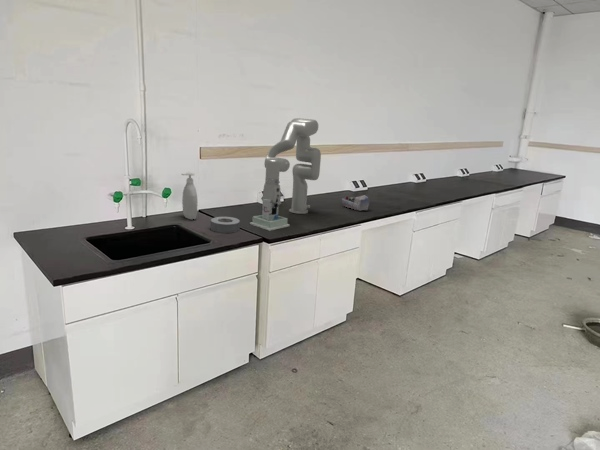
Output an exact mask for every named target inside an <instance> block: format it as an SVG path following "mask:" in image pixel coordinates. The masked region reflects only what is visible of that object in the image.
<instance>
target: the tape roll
mask: <svg viewBox="0 0 600 450" xmlns="http://www.w3.org/2000/svg"><path fill="white" fill-rule="evenodd" d="M240 222H241V220H240V219H238V218H237V217H232V216H216V217H213V218H211V219H210V230H211V231H212V232H215V233H221V234H233V233H237V232H239V231H240V224H241V223H240Z"/></svg>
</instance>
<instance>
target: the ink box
mask: <svg viewBox="0 0 600 450" xmlns="http://www.w3.org/2000/svg"><path fill="white" fill-rule="evenodd" d="M277 203H278V202H277ZM279 206H280V205H279ZM279 206H278V207H277V213H276V214H275V215H272V208H273V204H272V202H271V200H269V199H263V201H262V207H261V209H262V213H261V215H262V219H264V220H267V221H270V220H274V219H278V216H279Z"/></svg>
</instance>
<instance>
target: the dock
mask: <svg viewBox="0 0 600 450" xmlns="http://www.w3.org/2000/svg"><path fill="white" fill-rule="evenodd" d="M288 219H289V218H288V217H284V216H281V215H278V219H274V220H270V221H267V220H264V219H262V214H261V215H253V216H252V222H249V225H251V226H254V227H256V228H261V229H263V230H267V231H269V232H271V231H275V230H278V229H279V230H280V229H284V228H287V227H290V225H291V224H289V223H288Z"/></svg>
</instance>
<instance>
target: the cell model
mask: <svg viewBox="0 0 600 450" xmlns="http://www.w3.org/2000/svg"><path fill="white" fill-rule="evenodd" d="M341 204H342V206H343V207H344V206H345V207H344V208H346V207H347V208H346V209H348V208H351V210H353V209H354V210H353V211H360V212H361V211H369V210H368V209H369V206H370V199H369V197H368V196H367V195H365V194H363V195H360V196H356V197H355V196H351V197H349V196H345V197H342V198H341Z"/></svg>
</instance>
